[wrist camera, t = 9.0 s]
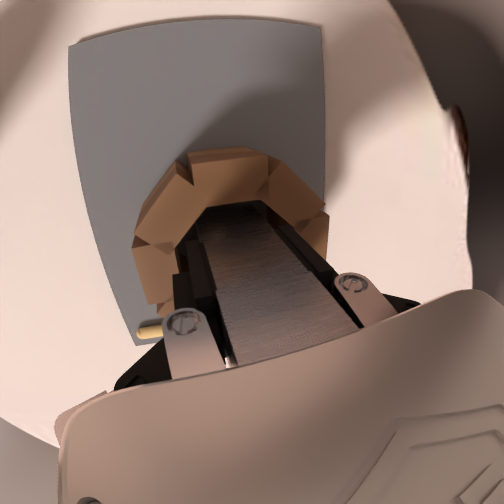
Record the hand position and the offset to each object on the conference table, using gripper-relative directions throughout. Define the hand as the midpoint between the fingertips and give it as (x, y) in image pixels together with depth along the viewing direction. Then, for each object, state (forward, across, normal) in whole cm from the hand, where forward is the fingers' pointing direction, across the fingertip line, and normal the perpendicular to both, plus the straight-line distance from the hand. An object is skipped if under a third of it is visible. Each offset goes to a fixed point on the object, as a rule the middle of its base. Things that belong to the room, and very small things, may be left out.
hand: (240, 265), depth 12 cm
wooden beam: (+3, 0, 0) cm, 3 cm away
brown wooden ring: (+5, 0, 0) cm, 5 cm away
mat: (+5, 0, -2) cm, 5 cm away
